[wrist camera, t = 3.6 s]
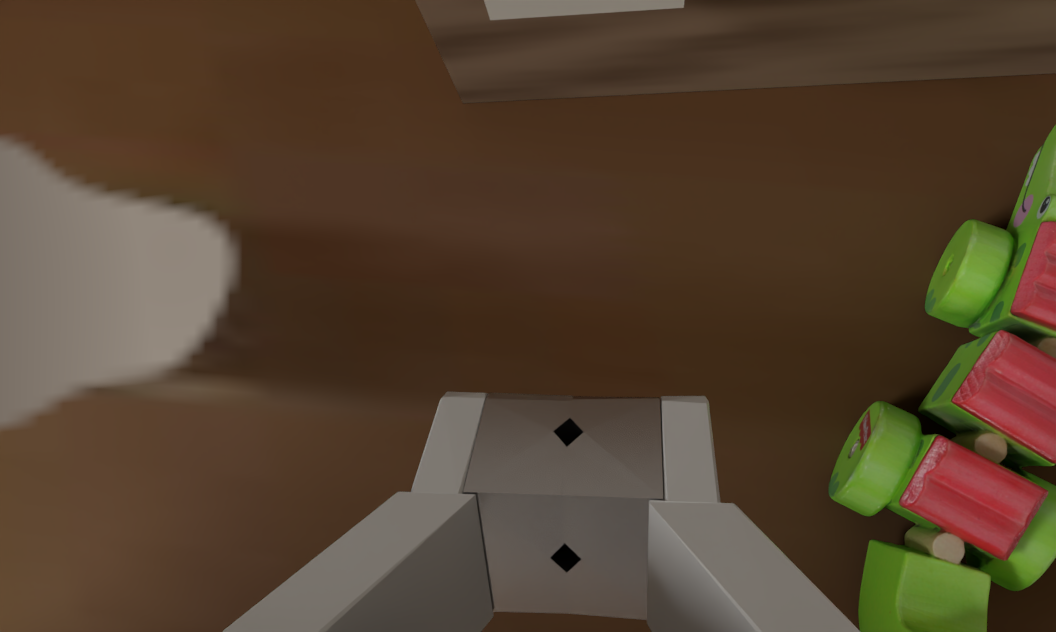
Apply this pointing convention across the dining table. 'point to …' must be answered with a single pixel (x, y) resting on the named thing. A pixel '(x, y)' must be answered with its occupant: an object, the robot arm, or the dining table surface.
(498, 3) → the grey block
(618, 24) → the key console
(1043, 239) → the toy crocodile
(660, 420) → the robot arm
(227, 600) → the dining table surface
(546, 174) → the dining table surface
